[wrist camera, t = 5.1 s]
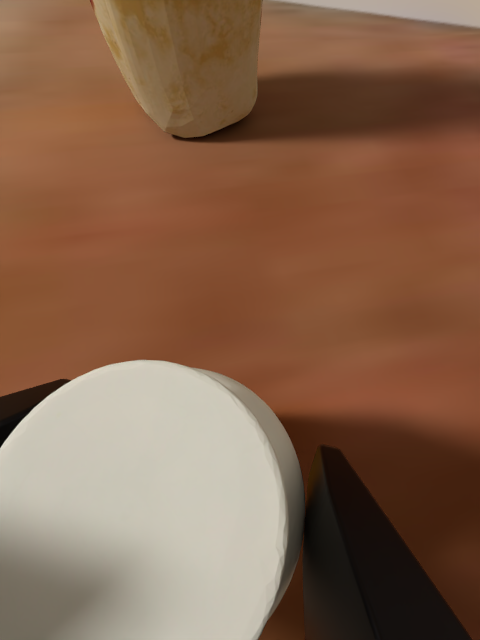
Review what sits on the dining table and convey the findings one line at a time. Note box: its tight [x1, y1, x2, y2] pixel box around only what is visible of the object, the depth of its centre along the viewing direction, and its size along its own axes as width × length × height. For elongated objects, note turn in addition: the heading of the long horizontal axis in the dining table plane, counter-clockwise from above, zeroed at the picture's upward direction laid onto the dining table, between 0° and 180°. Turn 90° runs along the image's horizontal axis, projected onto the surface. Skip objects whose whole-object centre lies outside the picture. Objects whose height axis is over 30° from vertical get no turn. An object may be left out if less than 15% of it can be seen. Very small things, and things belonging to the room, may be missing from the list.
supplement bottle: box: [0, 360, 305, 640], centre depth 8 cm, size 5×5×10 cm
